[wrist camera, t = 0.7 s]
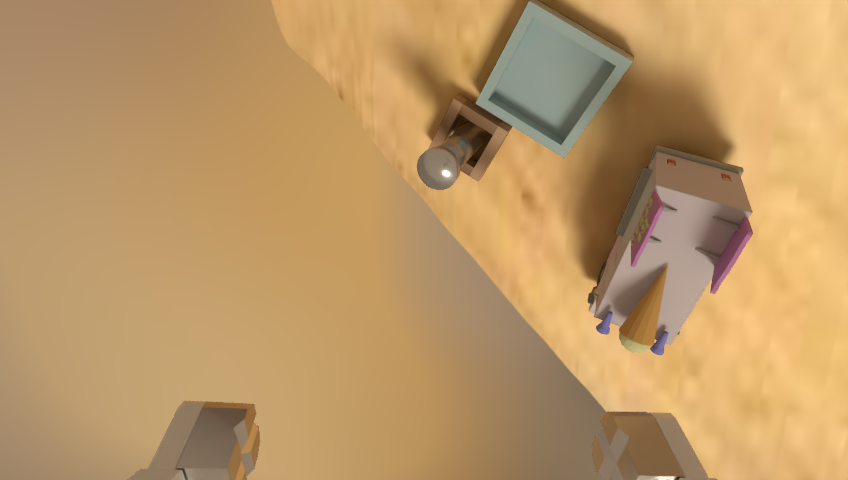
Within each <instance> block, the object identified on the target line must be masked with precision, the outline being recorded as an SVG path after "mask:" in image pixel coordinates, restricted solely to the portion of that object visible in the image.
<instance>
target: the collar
mask: <svg viewBox="0 0 848 480" xmlns="http://www.w3.org/2000/svg"><path fill="white" fill-rule="evenodd" d="M460 115H461V116H463V117H464V118H466V119H468V120H469V121H471V122H473V123H474V124H476V125H477V126H479V127H481V128H482V129H484V130H485V131H487V132H489V133H490V134H492V135H493V136H492V138H491V140H490V141H489V143H488V145H487V147H486V148H485V150H484V152H483V154H482V155H481V157H480V159H479V160H478V161H477V160H475V159H474V158H472V157H470V159H469V160H468V161H467V162H466V163H465V164H464V165H463V166H462V167H461V168H460V170H461V171H462V172H464V173H465V174H467V175H468V176H470V177H472V178H473V179H475V180H476V181H479V180H480V179H481V177H482V176H483V175H484V173H485V171H486V170H487V168H488V166H489V165H490V163H491V161H492V160H493V158H494V156H495V155H496V153H497V151H498V150H499V148H500V146H501V145H502V143H503V141H504V140H505V138H506V136H507V135H508V133H509V131H510V130H511V128H512V126H511V125H509V124H507V123H506V122H504V121H503V120H501V119H499V118H498V117H496V116H494V115H493V114H491V113H490V112H488V111H486V110H485V109H483V108H481V107H480V106H478V105H477V104H475V103H473V102H472V101H470V100H468V99H467V98H465V97H464V96H462V95H460V94H459V95H457V96H456V97H454V98H453V100H452V102H451V104H450V106H449V108H448V110H447V112H446V114H445V116H444V118H443V120H442V122H441V124H440V126H439V128H438V130H437V133H436V135H435V137H434V139H433V141H432V143H431V145H430V147H429V148H431V147H435V146H440V145H441V144H442V143H443V142H444V141H445V140H447V139H448V138H449V136H450V134H451V132H452V130H453V129H454V127H455V125H456V123H457V121H458V119H459V117H460Z"/></svg>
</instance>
